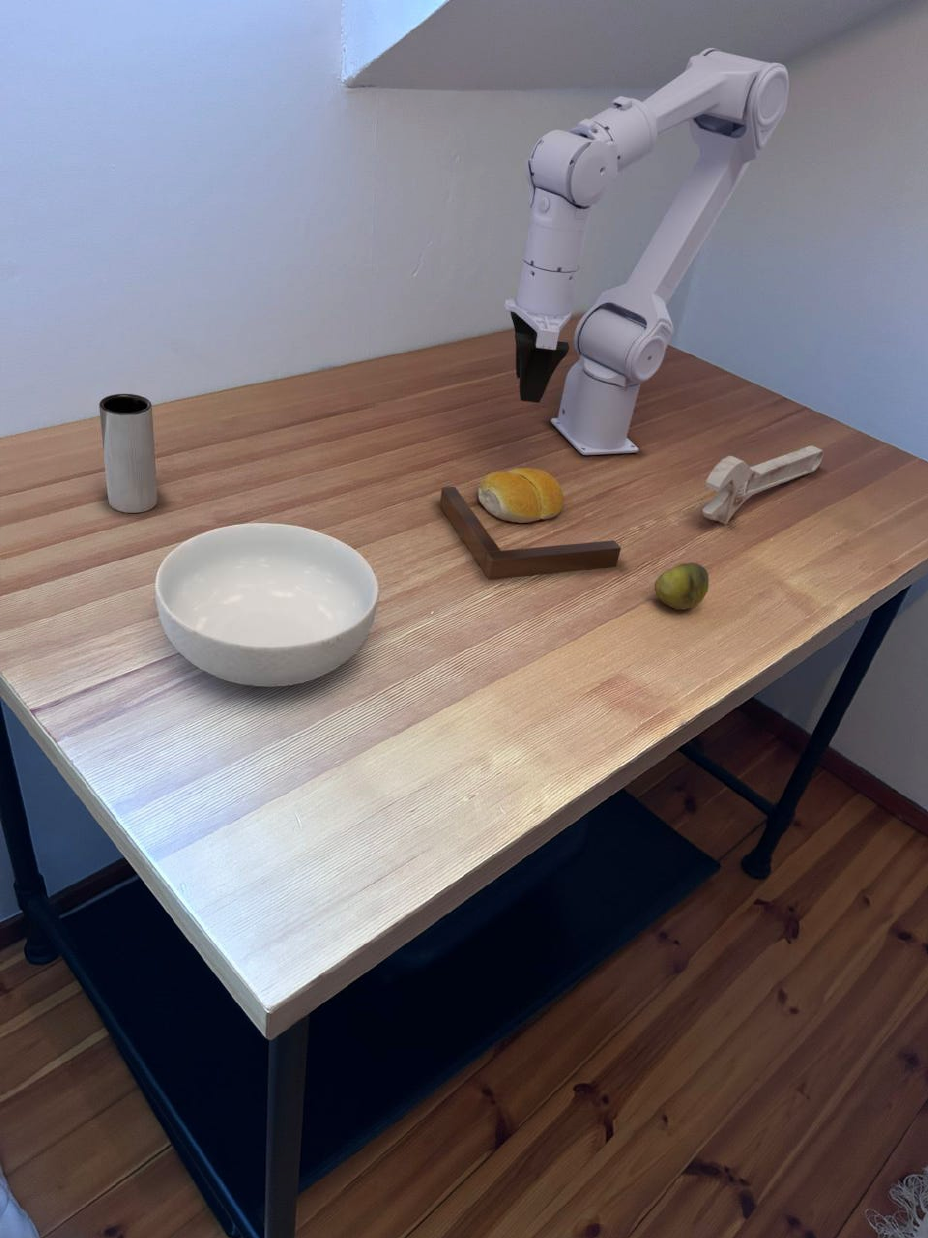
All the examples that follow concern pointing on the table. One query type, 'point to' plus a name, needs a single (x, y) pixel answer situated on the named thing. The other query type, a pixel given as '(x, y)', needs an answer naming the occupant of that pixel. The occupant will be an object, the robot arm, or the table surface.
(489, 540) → the corner stop
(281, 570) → the cereal bowl
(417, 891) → the table surface
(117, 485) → the grey cylindrical vase
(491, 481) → the bread roll
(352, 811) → the table surface
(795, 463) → the wrench
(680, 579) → the lime
